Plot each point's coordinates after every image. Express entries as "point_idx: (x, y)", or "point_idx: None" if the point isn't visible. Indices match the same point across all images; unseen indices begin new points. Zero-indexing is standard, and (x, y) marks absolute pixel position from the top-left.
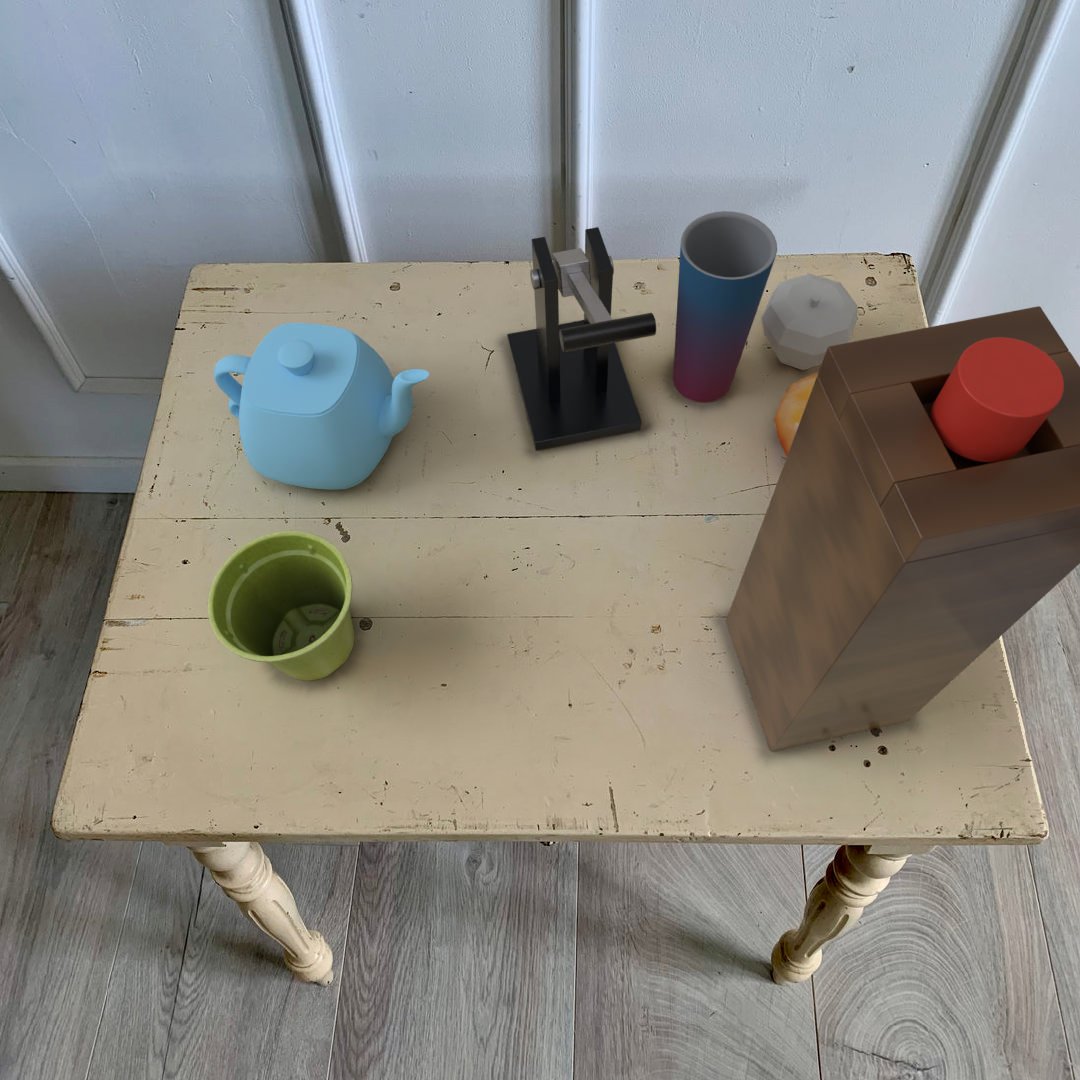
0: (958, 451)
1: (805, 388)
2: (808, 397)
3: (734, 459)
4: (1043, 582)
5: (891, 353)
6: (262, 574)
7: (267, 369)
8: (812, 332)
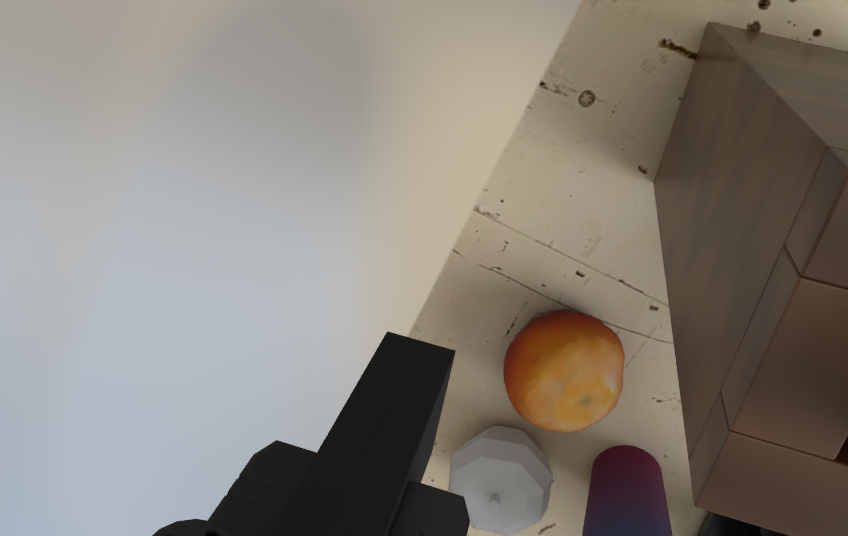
0: None
1: (578, 423)
2: (583, 412)
3: (661, 379)
4: (816, 106)
5: None
6: None
7: None
8: (522, 472)
